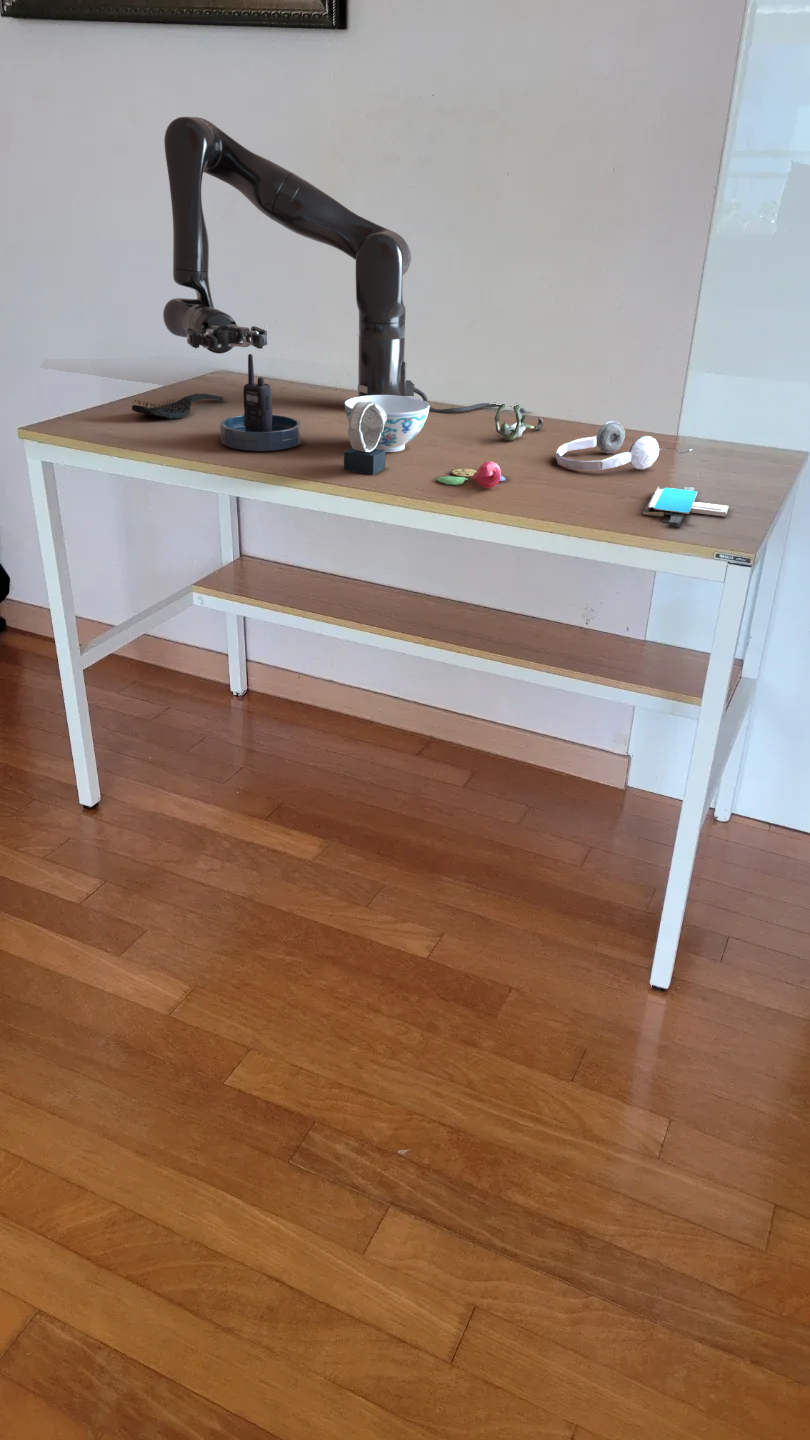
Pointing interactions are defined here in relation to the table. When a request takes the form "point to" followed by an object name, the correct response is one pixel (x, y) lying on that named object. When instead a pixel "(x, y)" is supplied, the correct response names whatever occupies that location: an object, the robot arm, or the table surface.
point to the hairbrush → (174, 406)
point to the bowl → (261, 434)
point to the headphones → (611, 450)
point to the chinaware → (395, 419)
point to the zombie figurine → (514, 425)
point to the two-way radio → (257, 403)
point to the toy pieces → (476, 475)
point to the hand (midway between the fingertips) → (238, 343)
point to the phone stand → (679, 505)
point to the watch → (361, 453)
